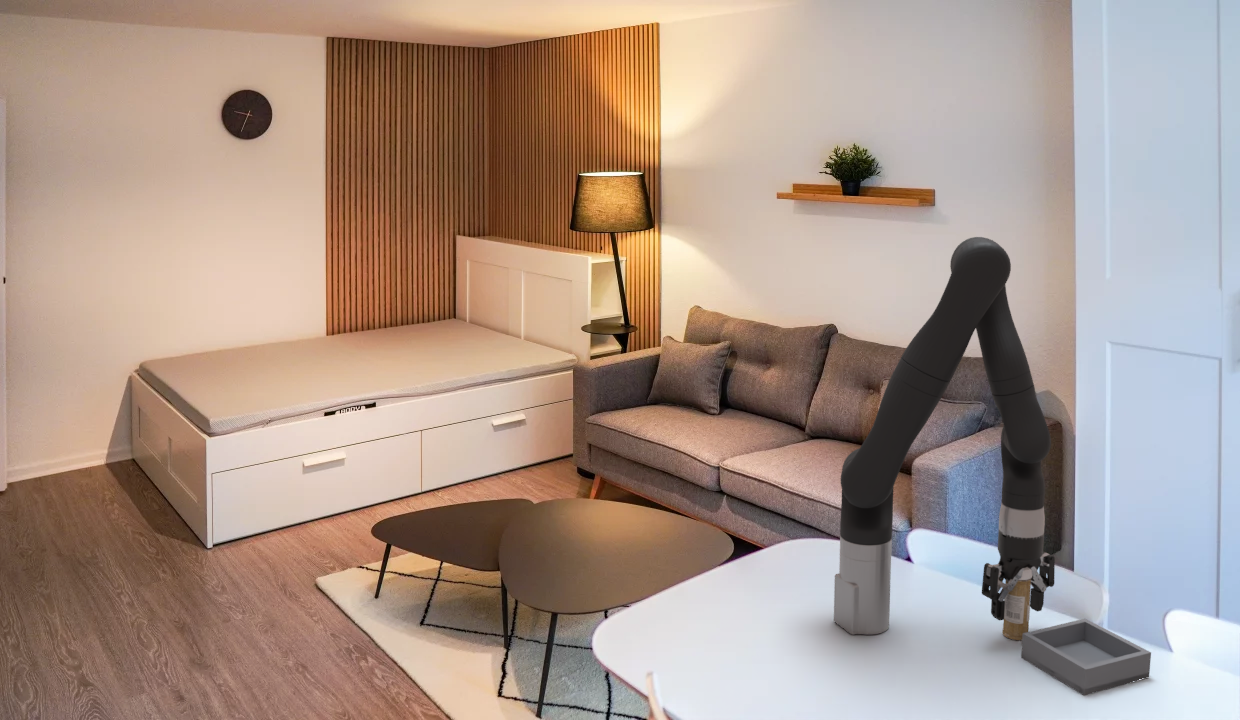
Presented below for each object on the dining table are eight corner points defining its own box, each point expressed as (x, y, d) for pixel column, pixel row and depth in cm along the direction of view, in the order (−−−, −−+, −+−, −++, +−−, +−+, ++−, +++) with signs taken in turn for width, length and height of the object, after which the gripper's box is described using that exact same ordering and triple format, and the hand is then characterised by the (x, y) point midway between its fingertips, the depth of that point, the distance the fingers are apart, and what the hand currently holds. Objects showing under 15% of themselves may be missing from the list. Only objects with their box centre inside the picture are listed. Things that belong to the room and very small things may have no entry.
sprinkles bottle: (1033, 636, 189) (1038, 566, 186) (1018, 643, 187) (1022, 572, 184) (1012, 627, 193) (1015, 558, 190) (996, 634, 190) (999, 564, 188)
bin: (1083, 695, 169) (1085, 669, 168) (1021, 657, 182) (1022, 633, 181) (1149, 677, 174) (1151, 652, 173) (1083, 642, 187) (1085, 618, 186)
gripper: (1037, 515, 192) (1032, 599, 195) (974, 527, 187) (970, 613, 190) (1068, 529, 185) (1063, 615, 188) (1004, 541, 180) (999, 630, 183)
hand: (1016, 614), depth 189 cm, fingers open, 8 cm apart
